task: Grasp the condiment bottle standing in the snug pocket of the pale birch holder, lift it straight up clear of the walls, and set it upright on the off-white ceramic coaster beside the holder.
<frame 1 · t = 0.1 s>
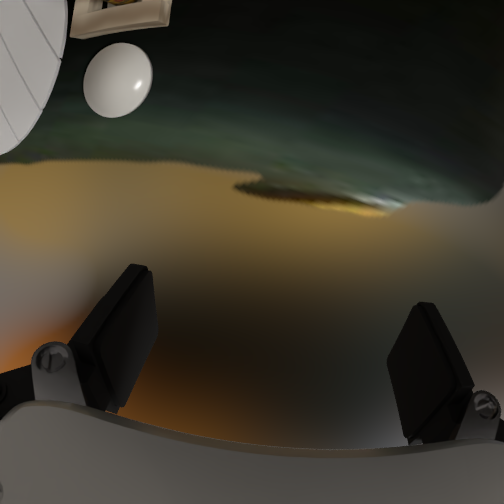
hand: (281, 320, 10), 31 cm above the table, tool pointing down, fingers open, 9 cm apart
coaster: (117, 79, 34), on the table
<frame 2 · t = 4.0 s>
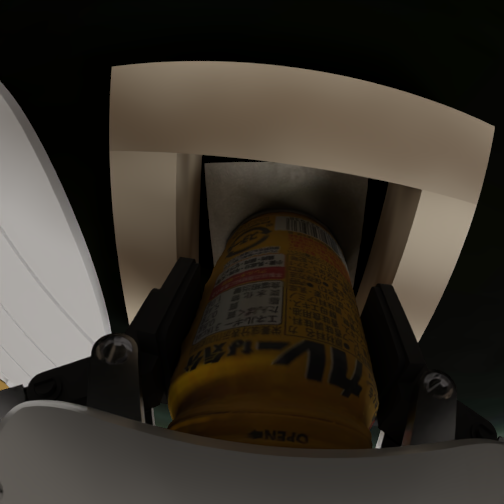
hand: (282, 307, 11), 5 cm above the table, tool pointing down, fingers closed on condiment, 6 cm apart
condiment: (285, 245, 15), resting in holder, touching gripper
holder: (285, 247, 15), on the table
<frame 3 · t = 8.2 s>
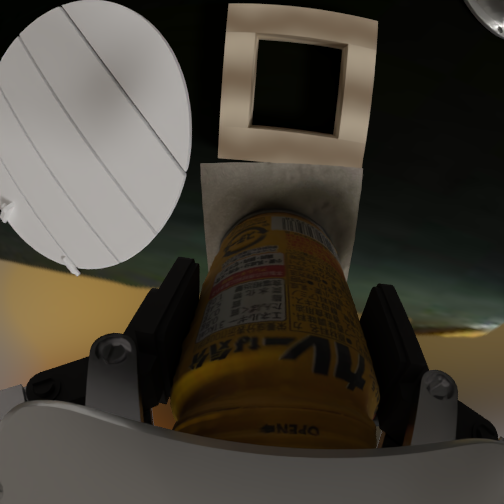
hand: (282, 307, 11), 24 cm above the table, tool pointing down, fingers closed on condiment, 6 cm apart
condiment: (279, 245, 15), point 19 cm above the table, touching gripper
holder: (297, 85, 28), on the table
lazy susan: (59, 141, 33), on the table
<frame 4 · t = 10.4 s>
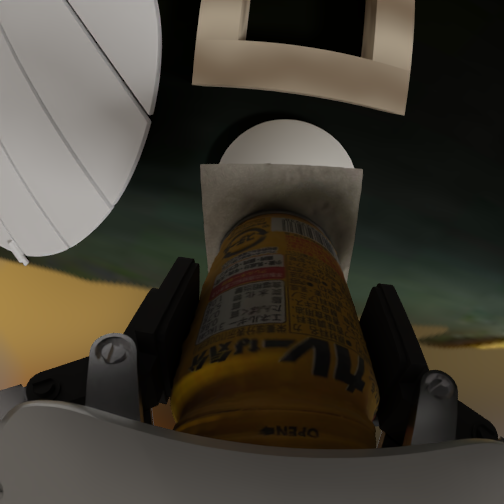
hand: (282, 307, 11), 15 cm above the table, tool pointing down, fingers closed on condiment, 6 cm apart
condiment: (279, 246, 15), point 10 cm above the table, touching gripper
holder: (308, 0, 16), on the table
coaster: (286, 188, 24), on the table
lazy susan: (8, 96, 21), on the table
when the fingers open (7 cm above the table, at t = 12.3 s): condiment drops 1 cm, resting on coaster.
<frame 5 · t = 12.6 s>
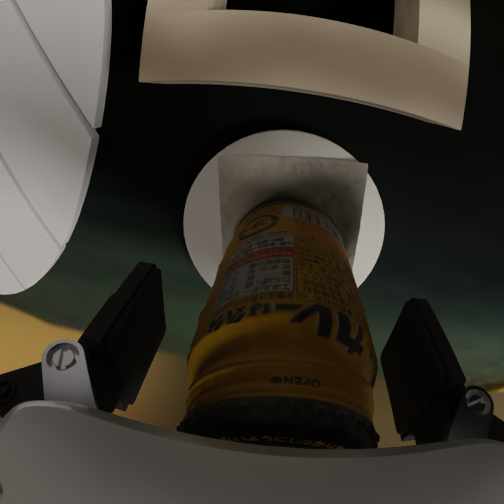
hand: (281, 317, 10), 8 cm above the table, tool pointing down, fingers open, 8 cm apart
condiment: (289, 234, 16), point 1 cm above the table, touching coaster
coaster: (284, 228, 17), on the table
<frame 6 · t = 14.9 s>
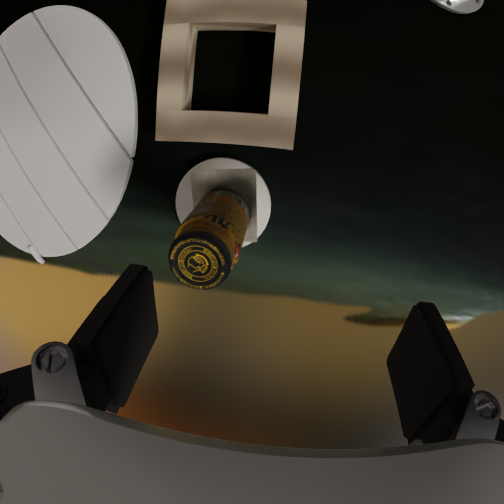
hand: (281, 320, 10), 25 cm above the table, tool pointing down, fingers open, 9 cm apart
condiment: (224, 205, 35), point 1 cm above the table, touching coaster
holder: (232, 69, 28), on the table
coaster: (223, 203, 35), on the table
lazy susan: (27, 135, 33), on the table
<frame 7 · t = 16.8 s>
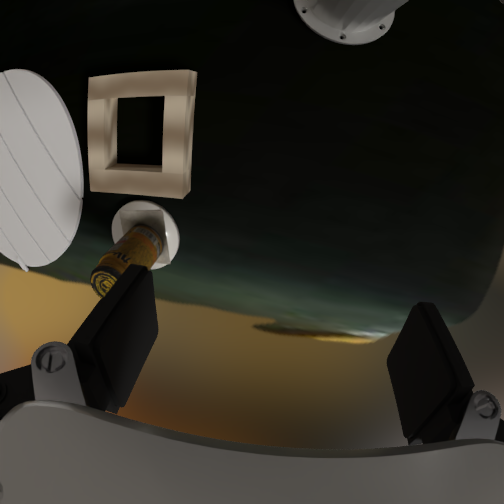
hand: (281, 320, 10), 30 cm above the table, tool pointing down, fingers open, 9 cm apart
condiment: (145, 236, 43), point 1 cm above the table, touching coaster
holder: (143, 130, 37), on the table
coaster: (145, 234, 44), on the table
lazy susan: (9, 173, 42), on the table
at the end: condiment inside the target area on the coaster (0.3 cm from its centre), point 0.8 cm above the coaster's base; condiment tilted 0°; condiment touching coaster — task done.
